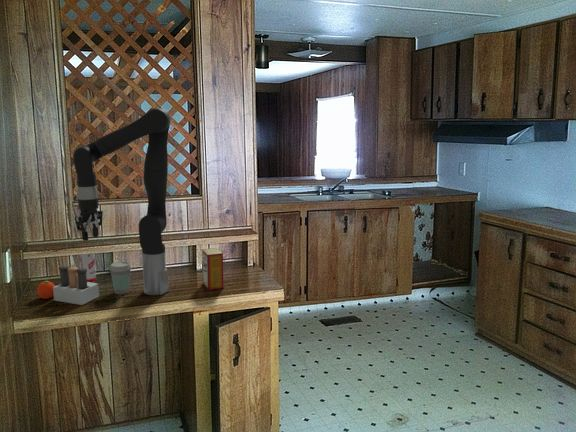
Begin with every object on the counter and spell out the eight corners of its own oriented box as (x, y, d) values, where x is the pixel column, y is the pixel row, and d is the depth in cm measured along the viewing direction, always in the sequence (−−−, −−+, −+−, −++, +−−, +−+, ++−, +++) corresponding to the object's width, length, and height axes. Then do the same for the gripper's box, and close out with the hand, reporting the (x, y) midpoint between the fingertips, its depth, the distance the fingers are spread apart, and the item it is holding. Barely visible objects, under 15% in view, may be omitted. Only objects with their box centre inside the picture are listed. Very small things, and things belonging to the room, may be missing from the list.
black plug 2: (90, 287, 208) (88, 268, 207) (83, 290, 205) (82, 271, 203) (82, 286, 209) (81, 267, 208) (75, 289, 206) (74, 270, 204)
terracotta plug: (81, 286, 210) (80, 267, 208) (74, 289, 206) (73, 270, 204) (73, 285, 211) (72, 266, 209) (66, 288, 207) (65, 269, 206)
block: (99, 296, 213) (98, 283, 212) (82, 305, 204) (81, 291, 202) (72, 292, 217) (71, 279, 216) (54, 300, 208) (52, 287, 207)
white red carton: (98, 279, 233) (96, 245, 229) (92, 284, 227) (89, 248, 223) (85, 279, 233) (82, 244, 230) (78, 284, 227) (75, 248, 224)
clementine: (40, 294, 214) (38, 278, 212) (58, 293, 215) (57, 277, 214) (35, 302, 206) (34, 284, 205) (54, 300, 208) (53, 283, 206)
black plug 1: (72, 285, 211) (71, 266, 209) (65, 288, 207) (64, 269, 206) (65, 283, 212) (63, 265, 211) (58, 286, 209) (56, 268, 207)
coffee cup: (132, 294, 216) (131, 266, 213) (110, 296, 213) (109, 267, 211) (132, 287, 224) (131, 260, 221) (111, 289, 221) (109, 261, 219)
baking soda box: (202, 283, 230) (202, 248, 226) (217, 281, 232) (216, 247, 229) (208, 290, 221) (207, 254, 218) (223, 288, 224) (222, 252, 220)
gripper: (82, 200, 200) (86, 243, 203) (107, 195, 213) (110, 235, 217) (67, 199, 202) (70, 242, 206) (92, 193, 216) (95, 233, 219)
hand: (90, 238), depth 211 cm, fingers open, 5 cm apart
